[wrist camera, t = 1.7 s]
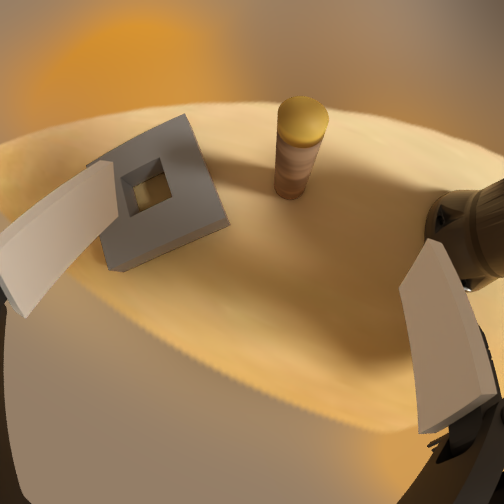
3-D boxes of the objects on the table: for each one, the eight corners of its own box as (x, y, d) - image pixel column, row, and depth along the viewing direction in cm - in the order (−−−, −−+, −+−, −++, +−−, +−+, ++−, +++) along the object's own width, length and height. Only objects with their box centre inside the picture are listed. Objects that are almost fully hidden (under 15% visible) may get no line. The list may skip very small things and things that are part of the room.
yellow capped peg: (310, 193, 35) (337, 128, 19) (281, 204, 35) (291, 142, 19) (296, 166, 36) (313, 91, 20) (269, 177, 36) (269, 104, 20)
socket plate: (230, 225, 35) (225, 217, 31) (123, 272, 35) (108, 270, 31) (191, 128, 37) (184, 113, 33) (99, 174, 37) (86, 165, 33)
